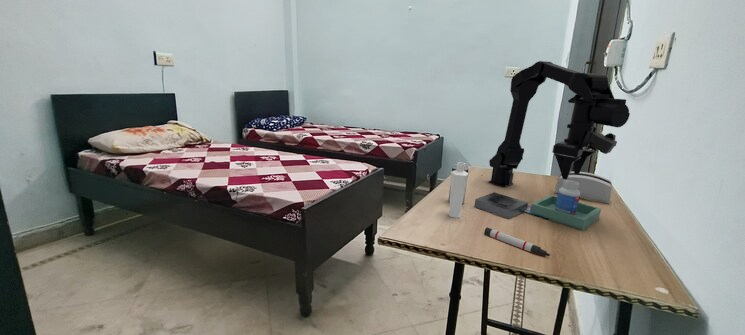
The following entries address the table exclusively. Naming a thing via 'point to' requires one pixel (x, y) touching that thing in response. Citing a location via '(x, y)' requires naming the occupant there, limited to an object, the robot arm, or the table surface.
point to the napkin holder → (589, 186)
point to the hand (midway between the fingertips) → (570, 176)
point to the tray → (579, 221)
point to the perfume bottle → (457, 190)
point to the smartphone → (530, 213)
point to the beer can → (454, 170)
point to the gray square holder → (493, 205)
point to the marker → (515, 242)
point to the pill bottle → (568, 197)
